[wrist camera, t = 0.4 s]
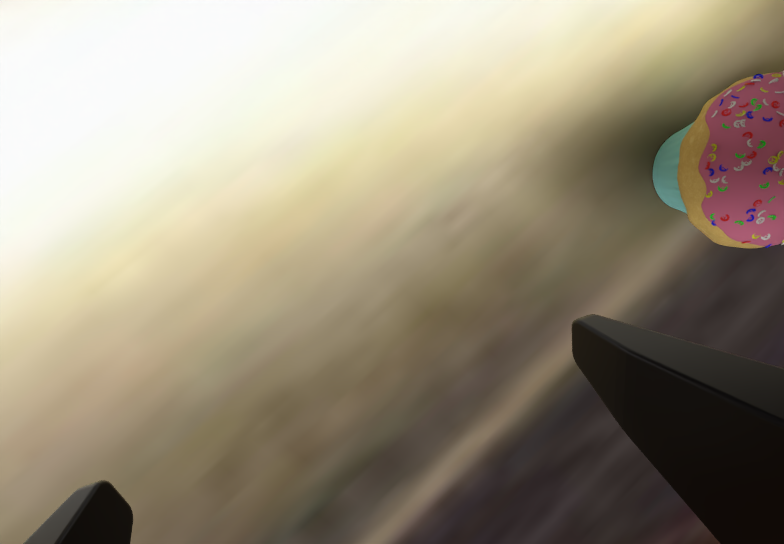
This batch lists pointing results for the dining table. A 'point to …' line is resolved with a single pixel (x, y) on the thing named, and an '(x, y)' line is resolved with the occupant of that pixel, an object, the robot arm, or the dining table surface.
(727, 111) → the cupcake
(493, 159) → the dining table surface
